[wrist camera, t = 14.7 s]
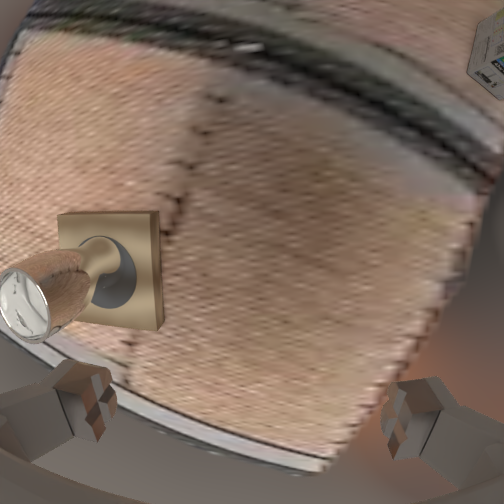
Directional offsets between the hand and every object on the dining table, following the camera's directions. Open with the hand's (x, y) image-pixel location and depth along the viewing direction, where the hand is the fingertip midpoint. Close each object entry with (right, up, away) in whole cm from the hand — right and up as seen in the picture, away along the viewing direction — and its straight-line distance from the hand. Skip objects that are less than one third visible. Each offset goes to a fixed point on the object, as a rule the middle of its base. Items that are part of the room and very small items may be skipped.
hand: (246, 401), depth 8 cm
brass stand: (-17, +2, +30) cm, 35 cm away
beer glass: (-17, +3, +27) cm, 32 cm away
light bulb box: (+33, +31, +21) cm, 50 cm away
